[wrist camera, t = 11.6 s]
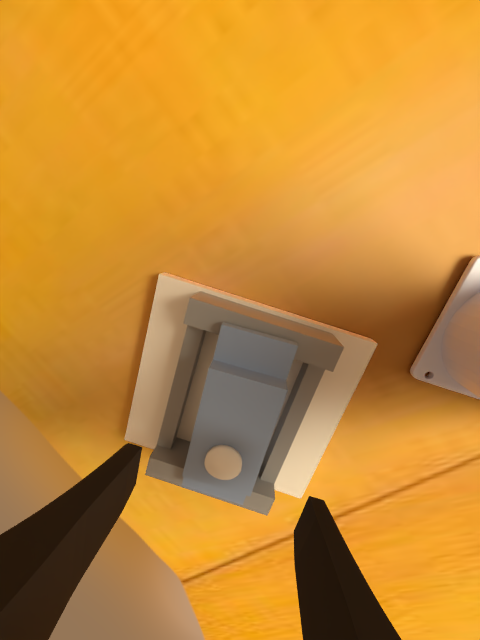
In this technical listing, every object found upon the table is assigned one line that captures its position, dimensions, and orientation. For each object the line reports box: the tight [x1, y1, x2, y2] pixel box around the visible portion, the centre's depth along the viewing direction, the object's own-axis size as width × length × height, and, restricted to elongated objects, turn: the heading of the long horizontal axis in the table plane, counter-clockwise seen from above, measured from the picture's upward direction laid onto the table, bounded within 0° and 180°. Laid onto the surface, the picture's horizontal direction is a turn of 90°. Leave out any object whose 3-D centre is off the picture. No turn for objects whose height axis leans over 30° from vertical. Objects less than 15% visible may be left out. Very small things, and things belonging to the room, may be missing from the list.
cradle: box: [124, 272, 378, 515], centre depth 16 cm, size 14×13×3 cm
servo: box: [181, 322, 298, 505], centre depth 15 cm, size 4×11×4 cm, turn 165°
